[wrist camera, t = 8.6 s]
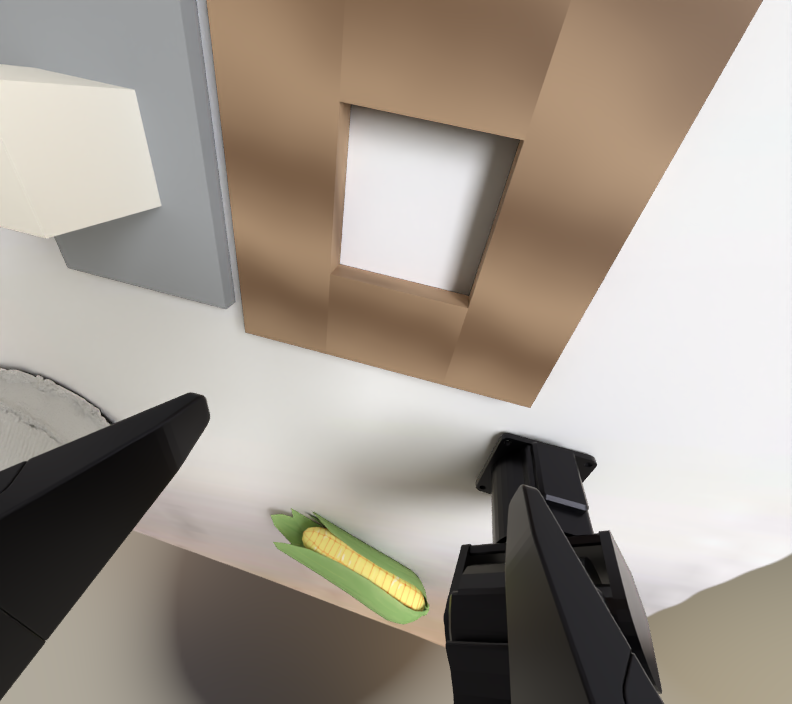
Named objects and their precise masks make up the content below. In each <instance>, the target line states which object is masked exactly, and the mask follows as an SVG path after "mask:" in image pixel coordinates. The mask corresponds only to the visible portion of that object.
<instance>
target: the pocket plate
mask: <svg viewBox="0 0 792 704" xmlns="http://www.w3.org/2000/svg"><path fill="white" fill-rule="evenodd" d="M762 1H763V0H207V8H208V17H209V25H210V34H211V42H212V51H213V59H214V68H215V76H216V85H217V94H218V102H219V111H220V119H221V128H222V136H223V145H224V153H225V162H226V170H227V179H228V188H229V196H230V205H231V213H232V222H233V230H234V239H235V247H236V256H237V264H238V273H239V281H240V290H241V299H242V307H243V316H244V324H245V332H246V333H250V334H254V335H257V336H261V337H265V338H269V339H272V340H276V341H280V342H284V343H287V344H291V345H295V346H299V347H303V348H306V349H310V350H314V351H318V352H321V353H325V354H329V355H333V356H336V357H340V358H344V359H348V360H352V361H355V362H359V363H363V364H367V365H370V366H374V367H378V368H382V369H385V370H389V371H393V372H397V373H401V374H404V375H408V376H412V377H416V378H419V379H423V380H427V381H431V382H434V383H438V384H442V385H446V386H450V387H453V388H457V389H461V390H465V391H468V392H472V393H476V394H480V395H484V396H487V397H491V398H495V399H499V400H502V401H506V402H510V403H514V404H517V405H521V406H525V407H529V408H531V406H532V404H533V402H534V401H535V399H536V397H537V395H538V394H539V392H540V390H541V388H542V387H543V385H544V383H545V381H546V380H547V378H548V376H549V374H550V373H551V371H552V369H553V367H554V366H555V364H556V362H557V360H558V359H559V357H560V355H561V353H562V352H563V350H564V348H565V346H566V344H567V343H568V341H569V339H570V337H571V336H572V334H573V332H574V330H575V329H576V327H577V325H578V323H579V322H580V320H581V318H582V316H583V315H584V313H585V311H586V309H587V308H588V306H589V304H590V302H591V301H592V299H593V297H594V295H595V294H596V292H597V290H598V288H599V287H600V285H601V283H602V281H603V280H604V278H605V276H606V274H607V273H608V271H609V269H610V267H611V266H612V264H613V262H614V260H615V259H616V257H617V255H618V253H619V252H620V250H621V248H622V246H623V245H624V243H625V241H626V239H627V238H628V236H629V234H630V232H631V231H632V229H633V227H634V225H635V224H636V222H637V220H638V218H639V217H640V215H641V213H642V211H643V210H644V208H645V206H646V204H647V203H648V201H649V199H650V197H651V196H652V194H653V192H654V190H655V189H656V187H657V185H658V183H659V182H660V180H661V178H662V176H663V175H664V173H665V171H666V169H667V168H668V166H669V164H670V162H671V161H672V159H673V157H674V155H675V154H676V152H677V150H678V148H679V147H680V145H681V143H682V141H683V140H684V138H685V136H686V134H687V133H688V131H689V129H690V127H691V125H692V124H693V122H694V120H695V118H696V117H697V115H698V113H699V111H700V110H701V108H702V106H703V104H704V103H705V101H706V99H707V97H708V96H709V94H710V92H711V90H712V89H713V87H714V85H715V83H716V82H717V80H718V78H719V76H720V75H721V73H722V71H723V69H724V68H725V66H726V64H727V62H728V61H729V59H730V57H731V55H732V54H733V52H734V50H735V48H736V47H737V45H738V43H739V41H740V40H741V38H742V36H743V34H744V33H745V31H746V29H747V27H748V26H749V24H750V22H751V20H752V19H753V17H754V15H755V13H756V12H757V10H758V8H759V6H760V5H761V3H762ZM351 104H353V105H358V106H363V107H368V108H372V109H377V110H382V111H387V112H391V113H396V114H401V115H406V116H410V117H415V118H420V119H425V120H429V121H434V122H439V123H444V124H448V125H453V126H458V127H463V128H467V129H472V130H477V131H482V132H486V133H491V134H496V135H501V136H505V137H510V138H515V139H520V142H519V145H518V148H517V151H516V154H515V157H514V160H513V163H512V167H511V170H510V173H509V176H508V179H507V182H506V185H505V188H504V191H503V194H502V197H501V200H500V203H499V206H498V209H497V212H496V215H495V218H494V222H493V225H492V228H491V231H490V234H489V237H488V240H487V243H486V246H485V249H484V252H483V255H482V258H481V261H480V264H479V267H478V270H477V274H476V277H475V280H474V283H473V286H472V289H471V292H470V295H469V296H468V295H464V294H460V293H456V292H451V291H447V290H443V289H439V288H435V287H431V286H427V285H423V284H419V283H415V282H411V281H407V280H403V279H398V278H394V277H390V276H386V275H382V274H378V273H374V272H370V271H366V270H362V269H358V268H354V267H350V266H345V265H341V264H340V253H341V239H342V224H343V210H344V196H345V182H346V168H347V154H348V139H349V125H350V111H351Z"/></svg>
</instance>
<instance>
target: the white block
mask: <svg viewBox="0 0 792 704" xmlns="http://www.w3.org/2000/svg"><path fill="white" fill-rule="evenodd" d="M160 206H161V202H160V197H159V193H158V189H157V184H156V180H155V176H154V171H153V167H152V163H151V158H150V154H149V149H148V145H147V141H146V136H145V132H144V128H143V123H142V119H141V115H140V110H139V106H138V102H137V97H136V93H135V90H134V89H129V88H125V87H120V86H116V85H111V84H106V83H102V82H97V81H93V80H88V79H84V78H79V77H75V76H70V75H66V74H61V73H57V72H52V71H47V70H43V69H38V68H32V67H23V66H14V65H4V64H0V227H3V228H7V229H11V230H14V231H18V232H22V233H26V234H30V235H34V236H38V237H42V238H45V239H47V238H50V237H54V236H57V235H61V234H64V233H68V232H71V231H75V230H79V229H82V228H86V227H89V226H93V225H96V224H100V223H103V222H107V221H110V220H114V219H117V218H121V217H125V216H128V215H132V214H135V213H139V212H142V211H146V210H149V209H153V208H156V207H160Z"/></svg>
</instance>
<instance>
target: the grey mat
mask: <svg viewBox="0 0 792 704" xmlns="http://www.w3.org/2000/svg"><path fill="white" fill-rule="evenodd" d="M0 64H4V65H14V66H23V67H32V68H38V69H43V70H47V71H52V72H57V73H61V74H66V75H70V76H75V77H79V78H84V79H88V80H93V81H97V82H102V83H106V84H111V85H116V86H120V87H125V88H129V89H134V90H135V93H136V97H137V102H138V106H139V110H140V115H141V119H142V123H143V128H144V132H145V136H146V141H147V145H148V149H149V154H150V158H151V163H152V167H153V171H154V176H155V180H156V184H157V189H158V193H159V197H160V202H161V206H160V207H156V208H153V209H149V210H146V211H142V212H139V213H135V214H132V215H128V216H125V217H121V218H117V219H114V220H110V221H107V222H103V223H100V224H96V225H93V226H89V227H86V228H82V229H79V230H75V231H71V232H68V233H64V234H61V235H57V236H54V237H55V239H56V242H57V244H58V246H59V249H60V251H61V253H62V256H63V258H64V260H65V263H66V265H67V267H68V268H70V269H74V270H78V271H82V272H86V273H90V274H93V275H97V276H101V277H105V278H109V279H113V280H116V281H120V282H124V283H128V284H132V285H136V286H139V287H143V288H147V289H151V290H155V291H158V292H162V293H166V294H170V295H174V296H178V297H181V298H185V299H189V300H193V301H197V302H201V303H204V304H208V305H212V306H216V307H220V308H224V309H227V308H228V307H229V306H231V305H232V304H233V303H235V296H234V288H233V281H232V273H231V265H230V258H229V250H228V242H227V235H226V227H225V219H224V212H223V204H222V196H221V189H220V181H219V173H218V166H217V158H216V150H215V143H214V135H213V127H212V119H211V112H210V104H209V96H208V89H207V81H206V73H205V66H204V58H203V50H202V43H201V35H200V27H199V20H198V12H197V4H196V0H0Z"/></svg>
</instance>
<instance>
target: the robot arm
mask: <svg viewBox="0 0 792 704" xmlns="http://www.w3.org/2000/svg"><path fill="white" fill-rule="evenodd" d="M209 420H210V413H209V408H208V404H207V400H206V398H205V397H204V396H203V395H200V394H196V393H187V394H184V395H182V396H179V397H177V398H175V399H172V400H170V401H167V402H165V403H163V404H160V405H158V406H155V407H153V408H151V409H148V410H146V411H143V412H141V413H139V414H136V415H134V416H131V417H129V418H127V419H124V420H122V421H119V422H117V423H114V424H112V425H110V426H107V427H105V428H102V429H100V430H98V431H95V432H93V433H90V434H88V435H86V436H83V437H81V438H78V439H76V440H74V441H71V442H69V443H66V444H64V445H62V446H59V447H57V448H54V449H52V450H50V451H47V452H45V453H42V454H40V455H38V456H35V457H33V458H30V459H29V460H28V461H23V462H21V463H18V464H16V465H13V466H11V467H9V468H6V469H4V470H1V471H0V700H1V699H2V698H3V696H4V695H5V694H6V693H7V691H8V690H9V689H10V688H11V686H12V685H13V683H14V682H15V681H16V680H17V678H18V677H19V676H20V675H21V673H22V672H23V671H24V669H25V668H26V667H27V666H28V664H29V663H30V662H31V660H32V659H33V658H34V657H35V655H36V654H37V653H38V651H39V650H40V649H41V648H42V646H43V645H44V643H45V640H47V639H48V638H49V637H50V636H51V634H52V633H53V632H54V630H55V629H56V628H57V627H58V625H59V624H60V623H61V621H62V620H63V619H64V617H65V616H66V615H67V614H68V612H69V611H70V610H71V608H72V607H73V606H74V605H75V603H76V602H77V601H78V599H79V598H80V597H81V596H82V594H83V593H84V592H85V590H86V589H87V588H88V586H89V585H90V584H91V582H92V581H93V580H94V579H95V578H96V576H97V575H98V574H99V572H100V571H101V570H102V568H103V567H104V566H105V565H106V563H107V562H108V561H109V559H110V558H111V557H112V556H113V554H114V553H115V552H116V550H117V549H118V548H119V547H120V545H121V544H122V543H123V541H124V540H125V539H126V538H127V536H128V535H129V534H130V532H131V531H132V530H133V528H134V527H135V526H136V525H137V523H138V522H139V521H140V519H141V518H142V517H143V516H144V514H145V513H146V512H147V510H148V509H149V508H150V507H151V505H152V504H153V503H154V501H155V500H156V499H157V498H158V496H159V495H160V494H161V492H162V491H163V490H164V489H165V487H166V486H167V485H168V483H169V482H170V481H171V479H172V478H173V477H174V476H175V474H176V473H177V471H178V470H179V469H180V467H181V466H182V464H183V463H184V461H185V460H186V458H187V456H188V455H189V453H190V452H191V450H192V448H193V447H194V445H195V444H196V442H197V440H198V439H199V437H200V436H201V434H202V433H203V431H204V429H205V428H206V426H207V425H208V423H209ZM506 440H509V441H506ZM596 466H597V463H596V460H595V458H594V457H593V456H590V455H587V454H583V453H579V452H575V451H572V450H568V449H564V448H561V447H557V446H553V445H550V444H546V443H542V442H539V441H535V440H531V439H528V438H524V437H520V436H517V435H513V434H508V433H506V434H503V435H501V436H500V438H499V440H498V442H497V444H496V446H495V448H494V449H493V451H492V453H491V455H490V457H489V459H488V461H487V463H486V464H485V466H484V468H483V470H482V472H481V474H480V476H479V477H478V479H477V481H476V488H477V489H478V490H479V491H482V492H486V493H489V494H492V534H493V544H482V545H471V544H466V545H462V546H461V550H460V554H459V558H458V561H457V565H456V569H455V573H454V577H453V580H452V584H451V588H450V592H449V596H448V599H447V604H446V609H445V613H444V625H445V637H446V651H447V656H448V661H449V665H450V670H451V678H452V686H453V694H454V704H664V703H663V701H662V699H661V698H660V696H659V695H658V694H661V693H662V689H661V683H660V678H659V673H658V668H657V663H656V658H655V653H654V648H653V644H652V639H651V634H650V629H649V624H648V620H647V616H646V613H645V611H644V608H643V605H642V602H641V599H640V596H639V594H638V591H637V588H636V585H635V582H634V579H633V576H632V574H631V572H630V570H629V568H628V566H627V564H626V562H625V560H624V558H623V556H622V554H621V552H620V550H619V548H618V546H617V544H616V542H615V540H614V538H613V536H612V534H611V532H610V530H608V531H599V533H597V534H594V532H593V528H592V525H591V521H590V517H589V513H588V509H589V506H588V503H587V499H586V495H585V492H584V488H583V484H582V483H583V482H584V480H585V479H586V478H587V477H588V476H589V475H590V473H591V472H592V471H593V470H594V469H595V468H596Z"/></svg>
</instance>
